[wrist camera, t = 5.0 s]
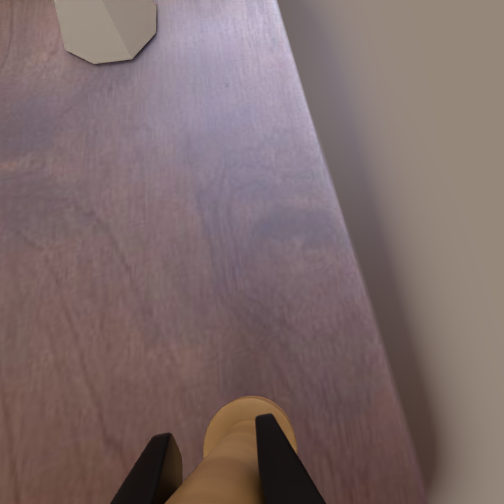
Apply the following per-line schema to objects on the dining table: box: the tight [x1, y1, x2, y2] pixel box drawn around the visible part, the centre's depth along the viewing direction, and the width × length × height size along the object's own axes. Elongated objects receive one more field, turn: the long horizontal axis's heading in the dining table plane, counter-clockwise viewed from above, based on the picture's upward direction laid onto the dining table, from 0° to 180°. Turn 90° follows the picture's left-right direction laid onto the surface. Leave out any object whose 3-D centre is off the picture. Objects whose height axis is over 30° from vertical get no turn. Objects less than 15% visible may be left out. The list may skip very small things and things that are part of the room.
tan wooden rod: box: [165, 396, 297, 504], centre depth 8 cm, size 4×4×14 cm
